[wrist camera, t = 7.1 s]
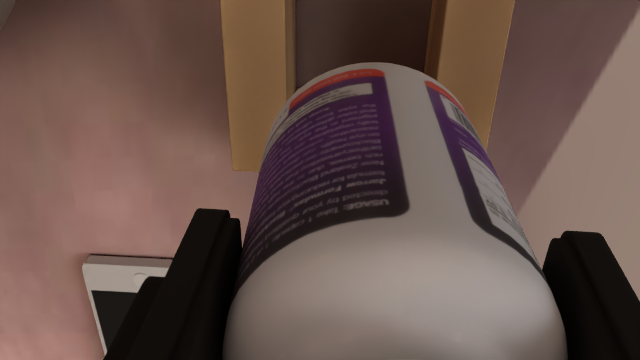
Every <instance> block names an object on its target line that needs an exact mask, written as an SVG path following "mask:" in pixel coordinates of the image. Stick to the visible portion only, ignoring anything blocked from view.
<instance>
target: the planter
mask: <svg viewBox="0 0 640 360" xmlns="http://www.w3.org/2000/svg"><path fill="white" fill-rule="evenodd" d="M14 3H15V0H0V30H1V29H2V27H3V26H4V24H5V23H6V21H7V19H8V17H9V15H10V13H11V11H12V9H13V6H14Z"/></svg>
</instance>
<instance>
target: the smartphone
mask: <svg viewBox="0 0 640 360" xmlns="http://www.w3.org/2000/svg"><path fill="white" fill-rule="evenodd" d="M171 263H172V260H171V259H152V258H133V257H114V256H95V255H90V256H89V257H88V258H87V260H86V261H85V263H84V264H83V266H82V272H83V276H84V280H85V284H86V287H87V291H88V295H89V298H90V302H91V306H92V310H93V313H94V317H95V321H96V325H97V328H98V332H99V336H100V340H101V343H102V347H103V351H104V354H105V355H106V353H107V351H108V349H109V347H110V345H111V343H112V342H113V340H114V338H115V336H116V334H117V332H118V330H119V328H120V326H121V324H122V322H123V320H124V318H125V316H126V314H127V312H128V310H129V308H130V306H131V304H132V303H133V301H134V299H135V297H136V295H137V293H138V291H139V289H140V287H141V285H142V284H143V282H144V280H145V279H146V278H148V277H149V276H157V277H165V275H166V273H167V271H168V269H169V267H170V265H171Z"/></svg>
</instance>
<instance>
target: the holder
mask: <svg viewBox="0 0 640 360" xmlns="http://www.w3.org/2000/svg"><path fill="white" fill-rule="evenodd" d="M514 5H515V0H432V8H431V16H430V25H429V33H428V42H427V50H426V59H425V67H424V74H426V75H428V76H430V77H431V78H433V79H435V80H436V81H437V82H439V83H440V84H442V85H443V86H444V87H445V88H446V89H447V90H449V91H450V92H451V93H452V94H453V95H454V96H455V97H456V98H457V100H458V101H459V102H460V104H461V105H462V107H463V108H464V110H465V112H466V113H467V115H468V117H469V118H470V120H471V122H472V124H473V125H474V127H475V129H476V132H477V134H478V136H479V138H480V141H481V143H482V145H483V147H484V149H485V151H486V149H487V144H488V139H489V134H490V129H491V124H492V118H493V113H494V108H495V103H496V98H497V93H498V87H499V82H500V77H501V72H502V67H503V62H504V56H505V51H506V46H507V41H508V36H509V31H510V25H511V20H512V15H513V10H514ZM220 14H221V27H222V40H223V54H224V67H225V80H226V93H227V107H228V120H229V133H230V147H231V160H232V170H233V171H252V172H260V167H261V162H262V158H263V153H264V149H265V146H266V142H267V139H268V136H269V133H270V130H271V127H272V125H273V122H274V120H275V118H276V117H277V115H278V113H279V112H280V110H281V109H282V107H283V106H284V104H285V103H286V102H287V101H288V99H289V98H290V97H291V96H292V95H293V94H294V93H295V92H296V91H297V90H298V89H300V88H296V0H220Z"/></svg>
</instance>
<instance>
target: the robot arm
mask: <svg viewBox="0 0 640 360" xmlns="http://www.w3.org/2000/svg"><path fill="white" fill-rule="evenodd" d="M241 253H242V240H241V227H240V220H239V219H238V218H230V213H229V211H228V210H218V209H202V208H199V209H197V210H196V212H195V214H194V216H193V218H192V220H191V222H190V224H189V226H188V229H187V231H186V233H185V235H184V237H183V239H182V241H181V243H180V246H179V248H178V250H177V252H176V254H175V256H174V258H173V260H172V263H171V265H170V267H169V269H168V271H167V273H166V275H165V277H157V276H149V277H148V278H146V279H145V280H144V282H143V284H142V285H141V287H140V289H139V291H138V293H137V295H136V297H135V299H134V301H133V303H132V304H131V306H130V308H129V310H128V312H127V314H126V316H125V318H124V320H123V322H122V324H121V326H120V328H119V330H118V332H117V334H116V336H115V338H114V340H113V342H112V343H111V345H110V347H109V349H108V351H107V353H106V355H105V357H104V359H103V360H222V349H223V340H224V333H225V327H226V321H227V315H228V310H229V305H230V301H231V297H232V292H233V287H234V283H235V279H236V275H237V270H238V266H239V261H240V257H241ZM542 272H543V274H544V276H545V278H546V280H547V283H548V285H549V287H550V289H551V291H552V294H553V296H554V299H555V302H556V305H557V307H558V310H559V312H560V315H561V318H562V321H563V324H564V328H565V333H566V340H567V351H568V360H640V301H639V300H638V298H637V296H636V294H635V292H634V291H633V289H632V287H631V285H630V283H629V282H628V280H627V278H626V277H625V275H624V273H623V271H622V269H621V267H620V266H619V264H618V262H617V260H616V258H615V257H614V255H613V253H612V251H611V250H610V248H609V246H608V244H607V242H606V241H605V239H604V237H603V236H602V235H601V234H600V233H596V232H580V231H579V232H578V231H565V232H564V233H563V234H562V235H561V238H553V239H552V240H551V242H550V245H549V248H548V252H547V255H546V258H545V262H544V265H543V269H542Z"/></svg>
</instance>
